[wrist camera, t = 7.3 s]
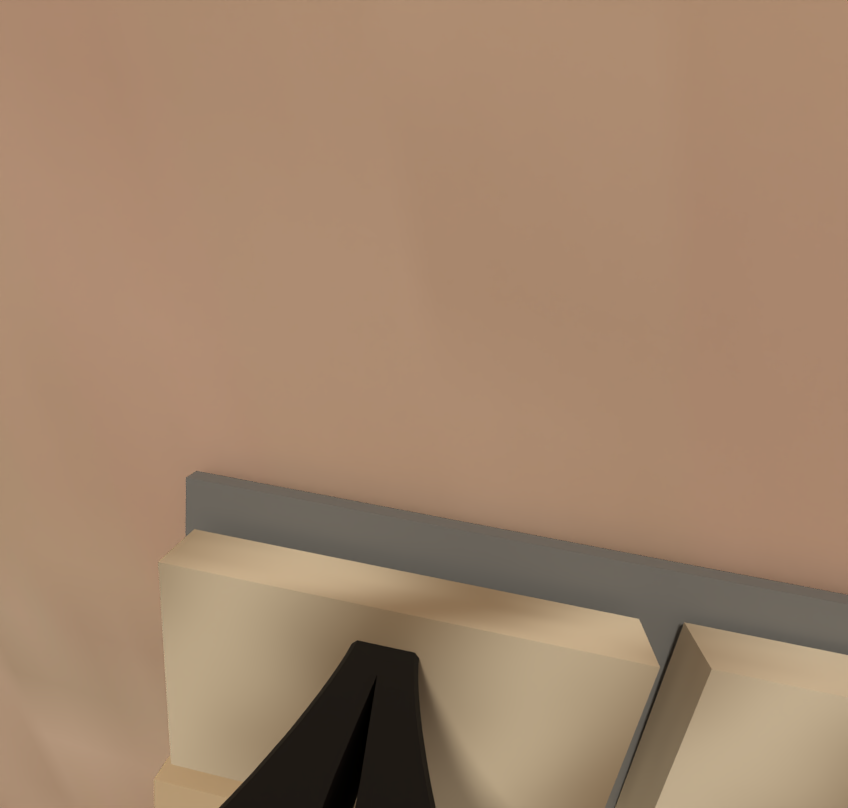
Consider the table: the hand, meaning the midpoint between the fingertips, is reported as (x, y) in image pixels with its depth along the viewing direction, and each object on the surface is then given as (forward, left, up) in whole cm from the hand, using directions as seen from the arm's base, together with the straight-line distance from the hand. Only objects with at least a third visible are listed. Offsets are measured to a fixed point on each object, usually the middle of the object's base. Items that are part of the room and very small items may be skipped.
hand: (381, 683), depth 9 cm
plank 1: (0, +1, -1) cm, 2 cm away
